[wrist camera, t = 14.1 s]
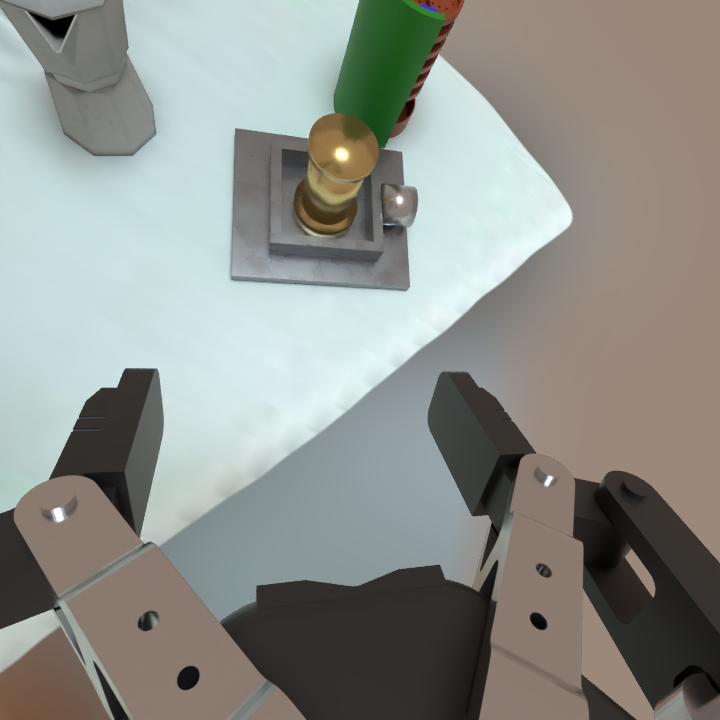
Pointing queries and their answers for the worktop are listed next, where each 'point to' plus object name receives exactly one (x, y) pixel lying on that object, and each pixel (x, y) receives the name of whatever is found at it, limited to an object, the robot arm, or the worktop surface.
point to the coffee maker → (87, 71)
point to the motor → (391, 60)
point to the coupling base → (294, 245)
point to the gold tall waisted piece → (334, 174)
